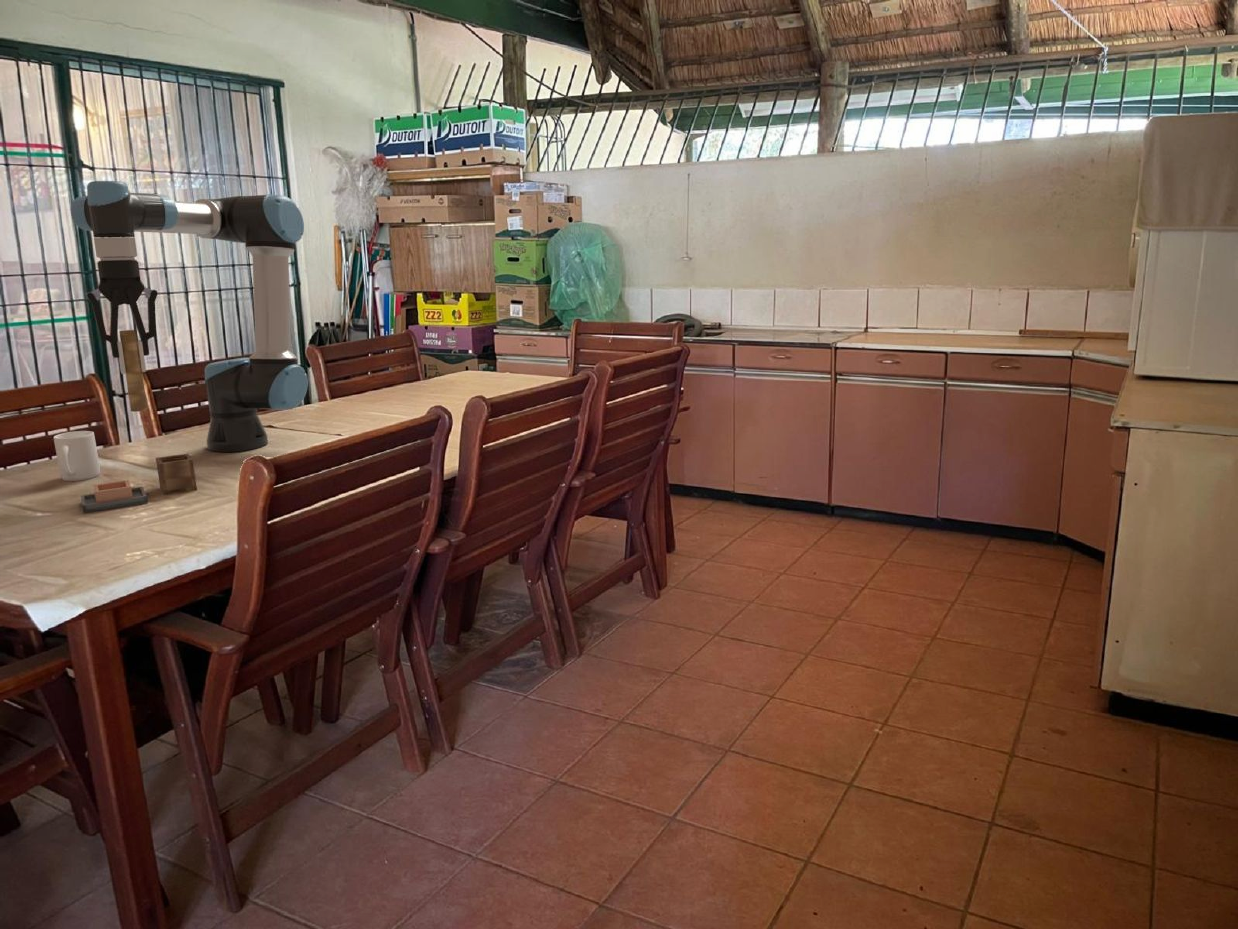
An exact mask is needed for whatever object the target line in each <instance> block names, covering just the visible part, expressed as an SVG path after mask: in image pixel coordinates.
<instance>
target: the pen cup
mask: <svg viewBox="0 0 1238 929" xmlns="http://www.w3.org/2000/svg"><path fill="white" fill-rule="evenodd" d="M155 462H156V468H157V475H158V481H159V488H160V490H161V492H162V495H170V494H179V493H184V492H185V493H187V492H191V491H197V490H198V487H197V486H198V485H197V480H196V479H197V478H196V472H195V466H194V460H193V458H192V456H191V455H190V453H182V454H175V455H168V456H167V455H165V456H161V457H156V458H155Z"/></svg>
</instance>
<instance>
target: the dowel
mask: <svg viewBox="0 0 1238 929" xmlns="http://www.w3.org/2000/svg"><path fill="white" fill-rule="evenodd" d="M118 332H119V339H120V342H122V349H123V356H124V363H125V370H126V374H125V380H126V387H127V394H128V400H129V406H130V408H129V409H130V412H145V411H147V410H148V403H147V397H146V388H145V382H144V375H143V372H142V369H141V362H140V355H139V348H138V340H139V339H138V333H137V332H138V330H136V329H123V330H119V331H118Z"/></svg>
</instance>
